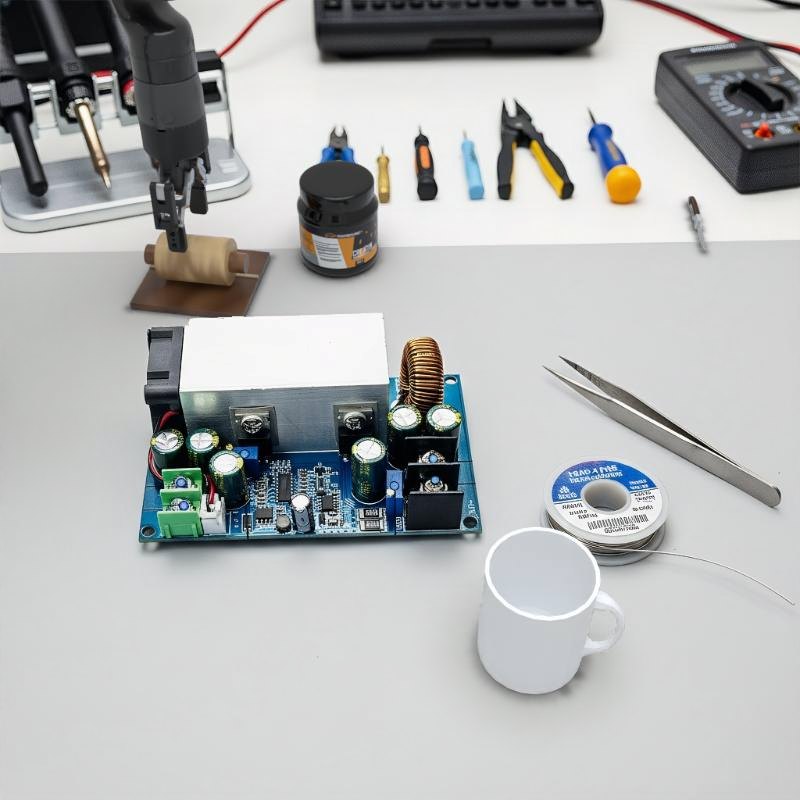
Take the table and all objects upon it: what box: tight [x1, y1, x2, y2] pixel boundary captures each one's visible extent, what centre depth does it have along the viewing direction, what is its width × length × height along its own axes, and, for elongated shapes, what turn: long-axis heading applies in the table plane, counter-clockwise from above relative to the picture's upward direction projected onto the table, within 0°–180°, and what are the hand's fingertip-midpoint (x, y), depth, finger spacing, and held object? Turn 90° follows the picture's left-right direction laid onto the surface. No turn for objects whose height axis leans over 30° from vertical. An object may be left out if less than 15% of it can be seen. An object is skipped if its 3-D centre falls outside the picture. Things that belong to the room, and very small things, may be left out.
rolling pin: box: [143, 231, 249, 286], centre depth 126 cm, size 13×6×6 cm, turn 81°
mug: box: [476, 526, 626, 695], centre depth 85 cm, size 10×12×12 cm
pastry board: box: [129, 248, 271, 318], centre depth 129 cm, size 15×14×1 cm
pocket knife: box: [687, 195, 706, 251], centre depth 139 cm, size 14×1×2 cm, turn 176°
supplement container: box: [296, 160, 380, 278], centre depth 129 cm, size 10×10×12 cm
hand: (189, 231), depth 123 cm, fingers open, 8 cm apart
